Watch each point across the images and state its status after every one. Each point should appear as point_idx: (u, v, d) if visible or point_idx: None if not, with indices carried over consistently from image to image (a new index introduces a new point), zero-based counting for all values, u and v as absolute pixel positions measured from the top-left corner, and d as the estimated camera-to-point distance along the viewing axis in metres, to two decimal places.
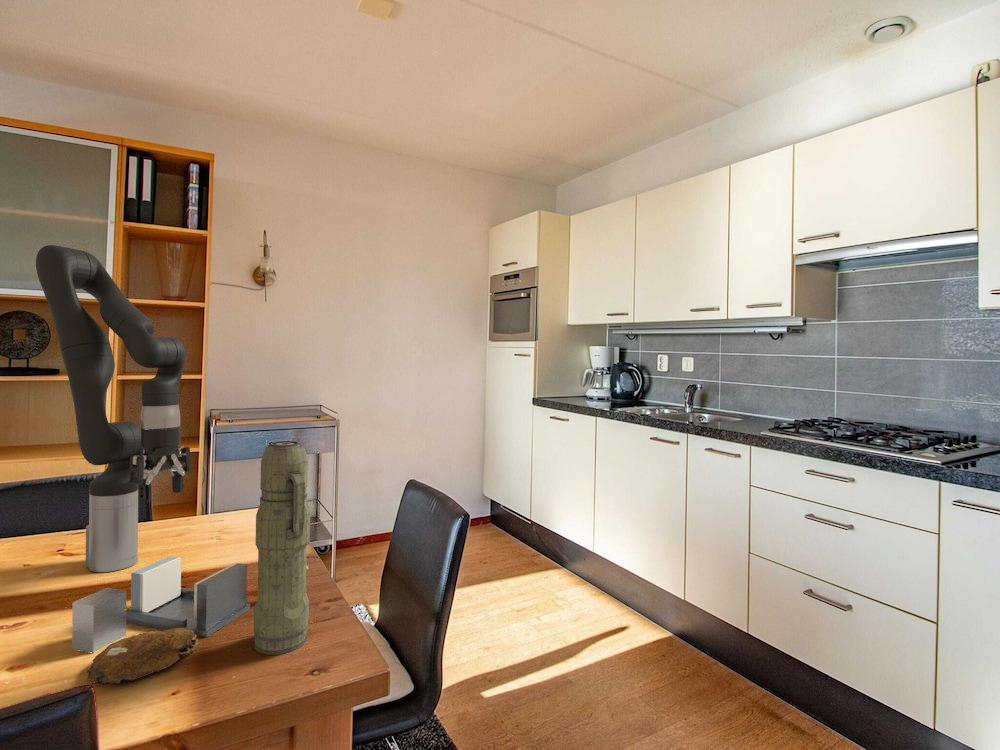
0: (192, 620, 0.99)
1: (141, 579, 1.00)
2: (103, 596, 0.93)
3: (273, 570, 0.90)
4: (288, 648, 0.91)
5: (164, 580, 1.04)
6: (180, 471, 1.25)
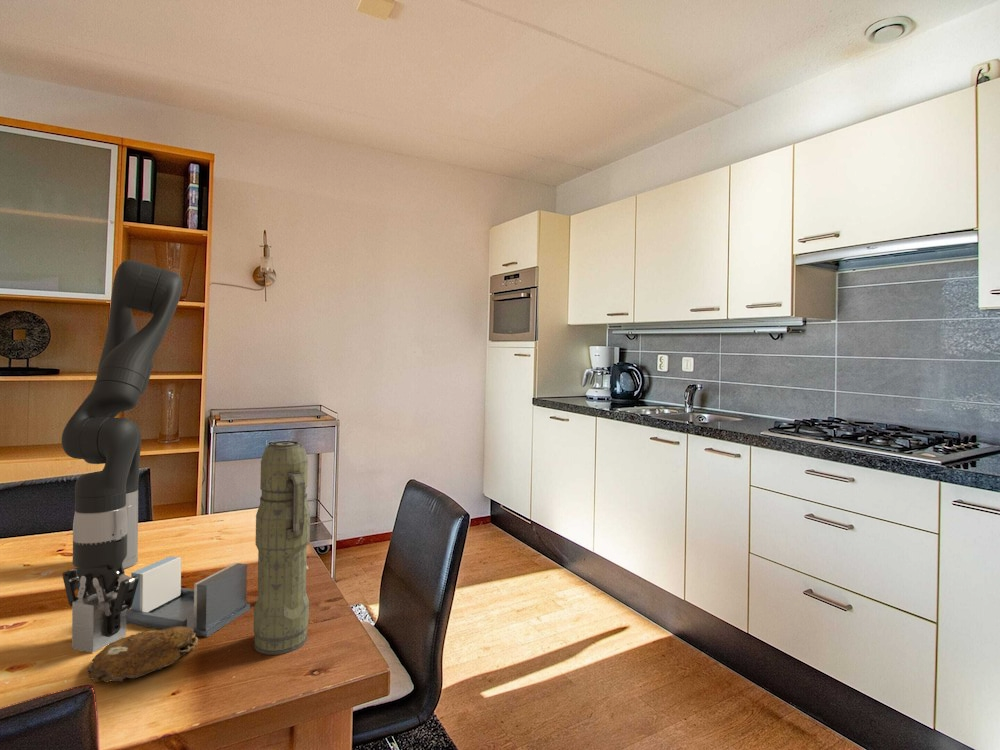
0: (192, 620, 0.99)
1: (141, 579, 1.00)
2: None
3: (273, 570, 0.90)
4: (288, 648, 0.91)
5: (164, 580, 1.04)
6: None
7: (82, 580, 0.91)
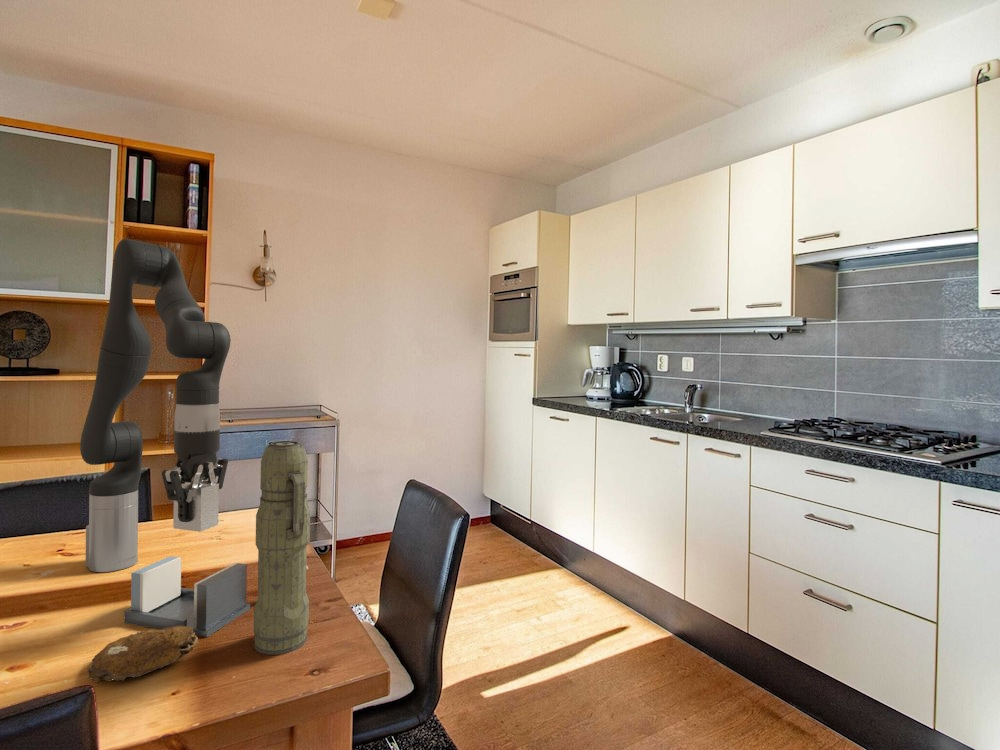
0: (192, 620, 0.99)
1: (141, 579, 1.00)
2: None
3: (273, 570, 0.90)
4: (288, 648, 0.91)
5: (164, 580, 1.04)
6: None
7: (199, 469, 1.00)
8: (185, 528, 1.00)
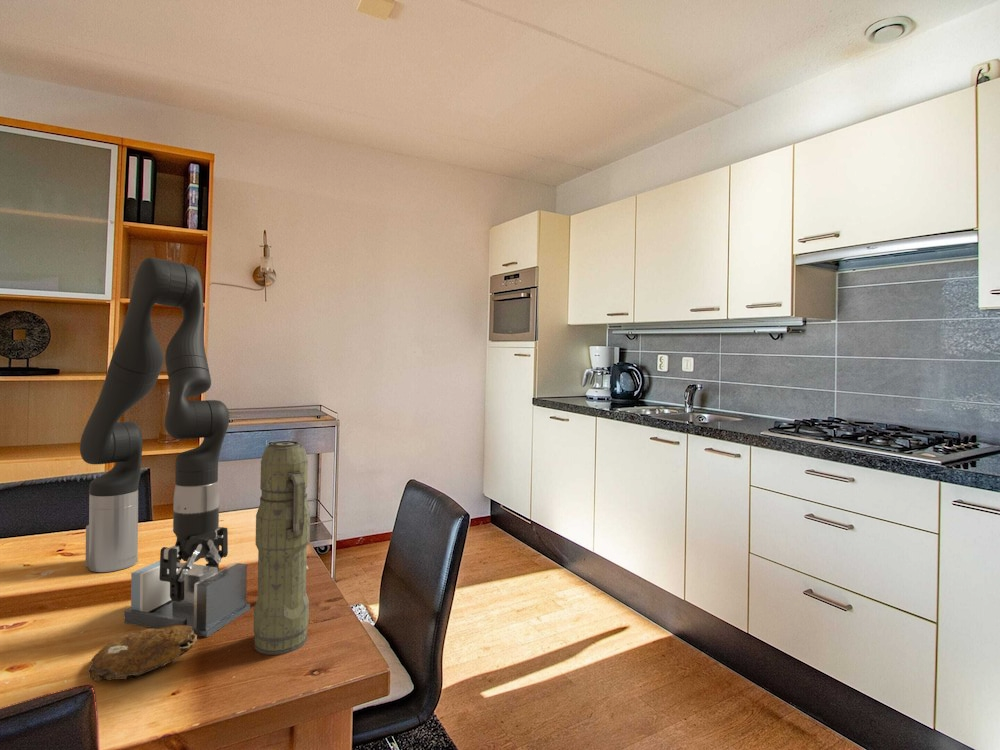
0: (192, 620, 0.99)
1: (141, 579, 1.00)
2: (195, 569, 1.03)
3: (273, 570, 0.90)
4: (288, 648, 0.91)
5: None
6: None
7: (198, 548, 1.00)
8: (184, 615, 1.00)
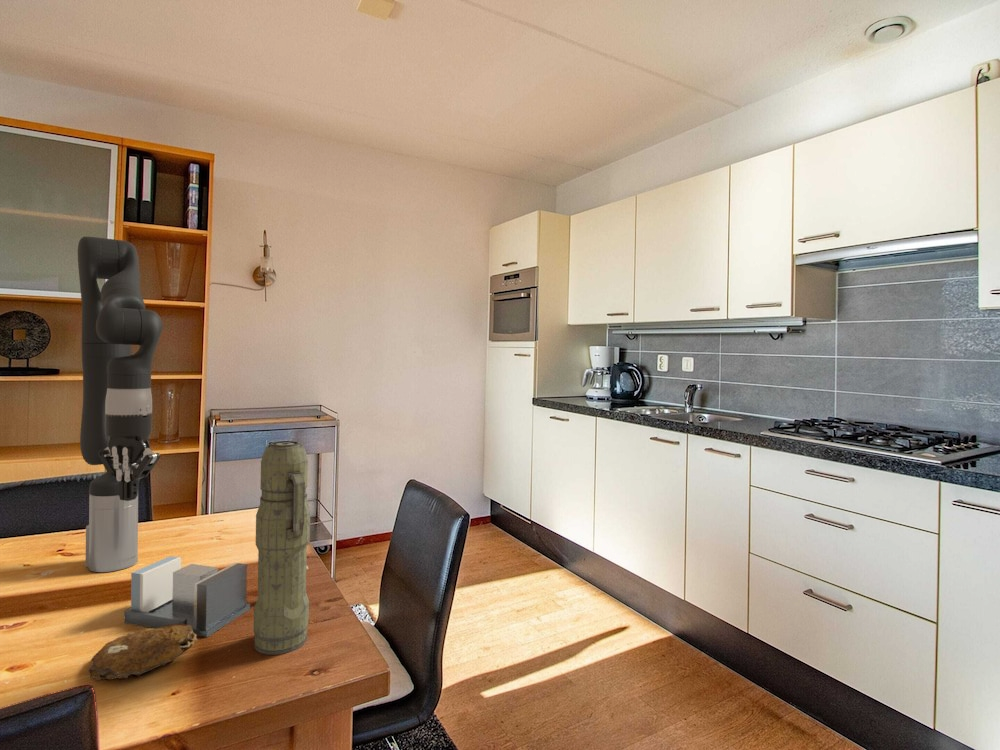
0: (192, 620, 0.99)
1: (141, 579, 1.00)
2: (195, 569, 1.03)
3: (273, 570, 0.90)
4: (288, 648, 0.91)
5: (164, 580, 1.04)
6: None
7: (113, 451, 1.03)
8: (184, 615, 1.00)
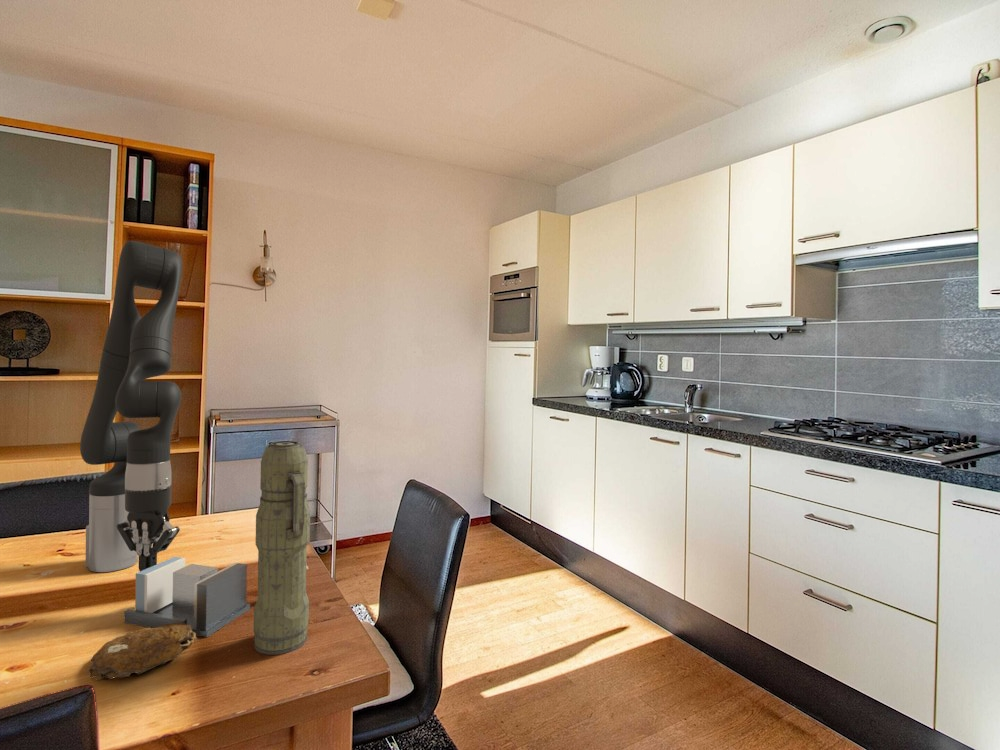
0: (192, 620, 0.99)
1: (145, 580, 0.99)
2: (195, 569, 1.03)
3: (273, 570, 0.90)
4: (288, 648, 0.91)
5: (168, 581, 1.04)
6: None
7: (133, 525, 1.03)
8: (184, 615, 1.00)
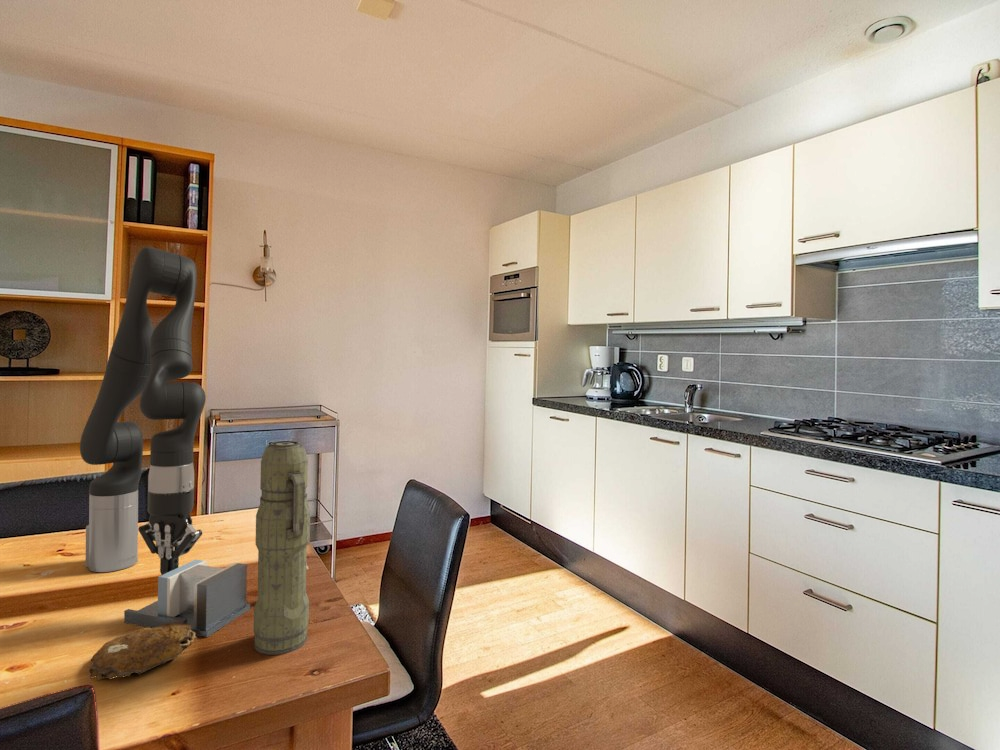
0: (192, 620, 0.99)
1: (168, 583, 0.98)
2: (202, 569, 1.02)
3: (273, 570, 0.90)
4: (288, 648, 0.91)
5: None
6: None
7: (155, 528, 1.01)
8: (191, 616, 1.00)
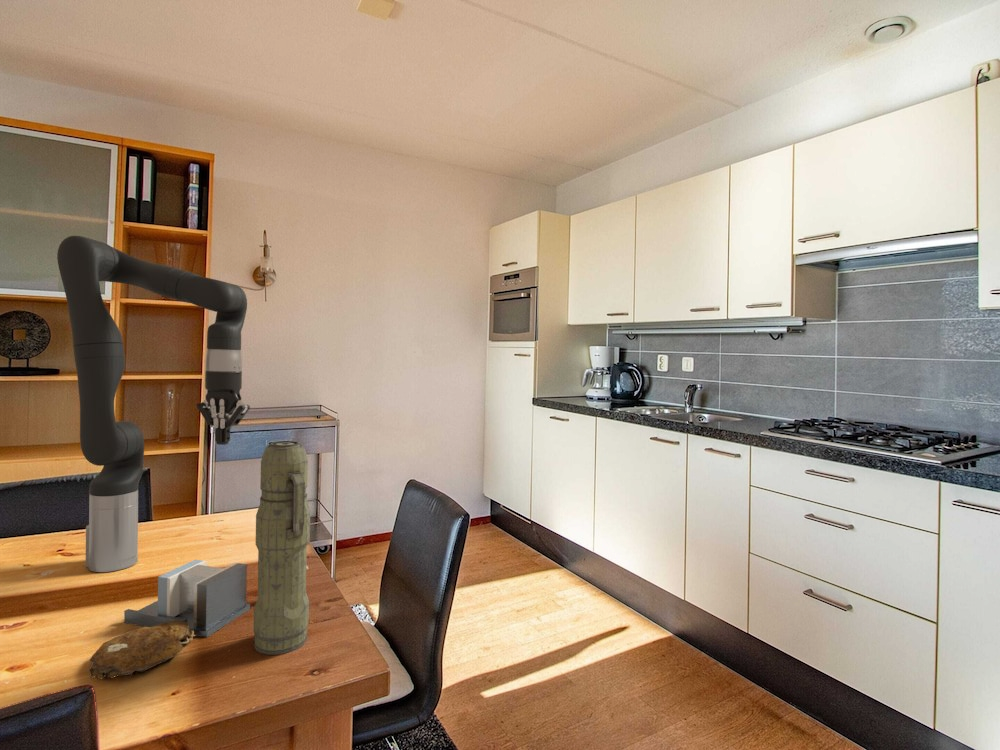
0: (192, 620, 0.99)
1: (168, 583, 0.98)
2: (202, 569, 1.02)
3: (273, 570, 0.90)
4: (288, 648, 0.91)
5: None
6: None
7: (211, 402, 1.23)
8: (191, 616, 1.00)
